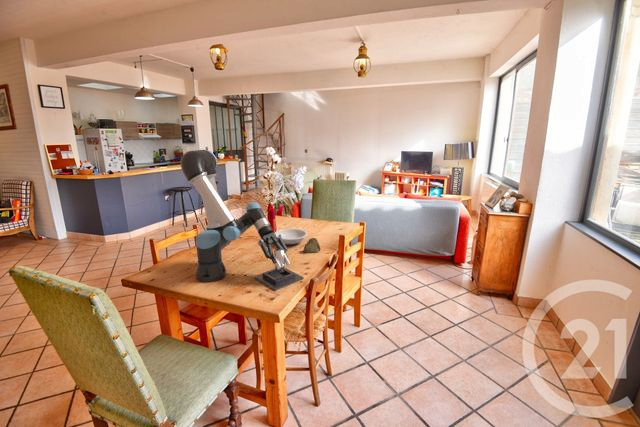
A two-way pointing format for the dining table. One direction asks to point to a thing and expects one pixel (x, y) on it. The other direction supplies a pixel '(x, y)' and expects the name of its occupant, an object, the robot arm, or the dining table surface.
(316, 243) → the rock
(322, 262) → the dining table surface
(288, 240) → the soup bowl
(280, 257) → the steel roller
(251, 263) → the dining table surface
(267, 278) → the socket plate
